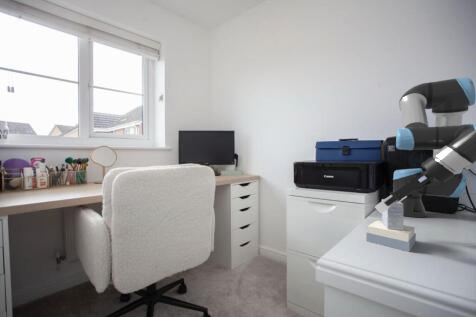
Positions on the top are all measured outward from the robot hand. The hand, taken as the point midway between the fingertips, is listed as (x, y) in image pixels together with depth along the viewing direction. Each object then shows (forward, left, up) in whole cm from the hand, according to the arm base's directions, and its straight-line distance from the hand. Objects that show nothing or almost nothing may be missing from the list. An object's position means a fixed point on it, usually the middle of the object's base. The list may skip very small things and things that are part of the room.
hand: (383, 207), depth 76 cm
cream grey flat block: (0, +2, -11) cm, 11 cm away
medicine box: (0, +3, -6) cm, 7 cm away
